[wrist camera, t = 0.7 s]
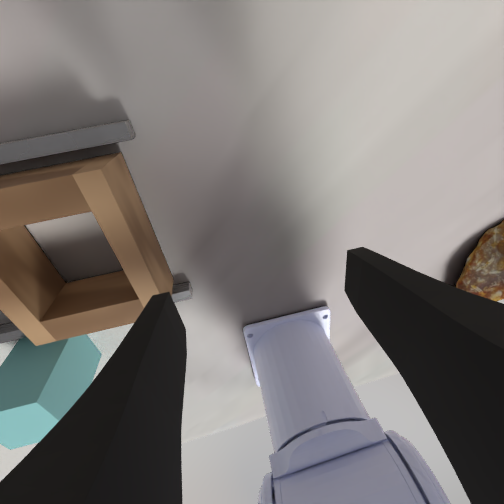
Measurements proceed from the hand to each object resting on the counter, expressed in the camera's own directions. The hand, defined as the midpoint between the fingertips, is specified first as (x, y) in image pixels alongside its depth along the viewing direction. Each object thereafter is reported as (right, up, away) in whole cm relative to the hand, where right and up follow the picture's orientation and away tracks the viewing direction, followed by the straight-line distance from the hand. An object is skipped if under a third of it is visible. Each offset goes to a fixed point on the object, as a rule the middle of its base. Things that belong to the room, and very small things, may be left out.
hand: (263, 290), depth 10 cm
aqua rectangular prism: (-15, -6, +11) cm, 20 cm away
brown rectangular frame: (-11, +2, +6) cm, 13 cm away
